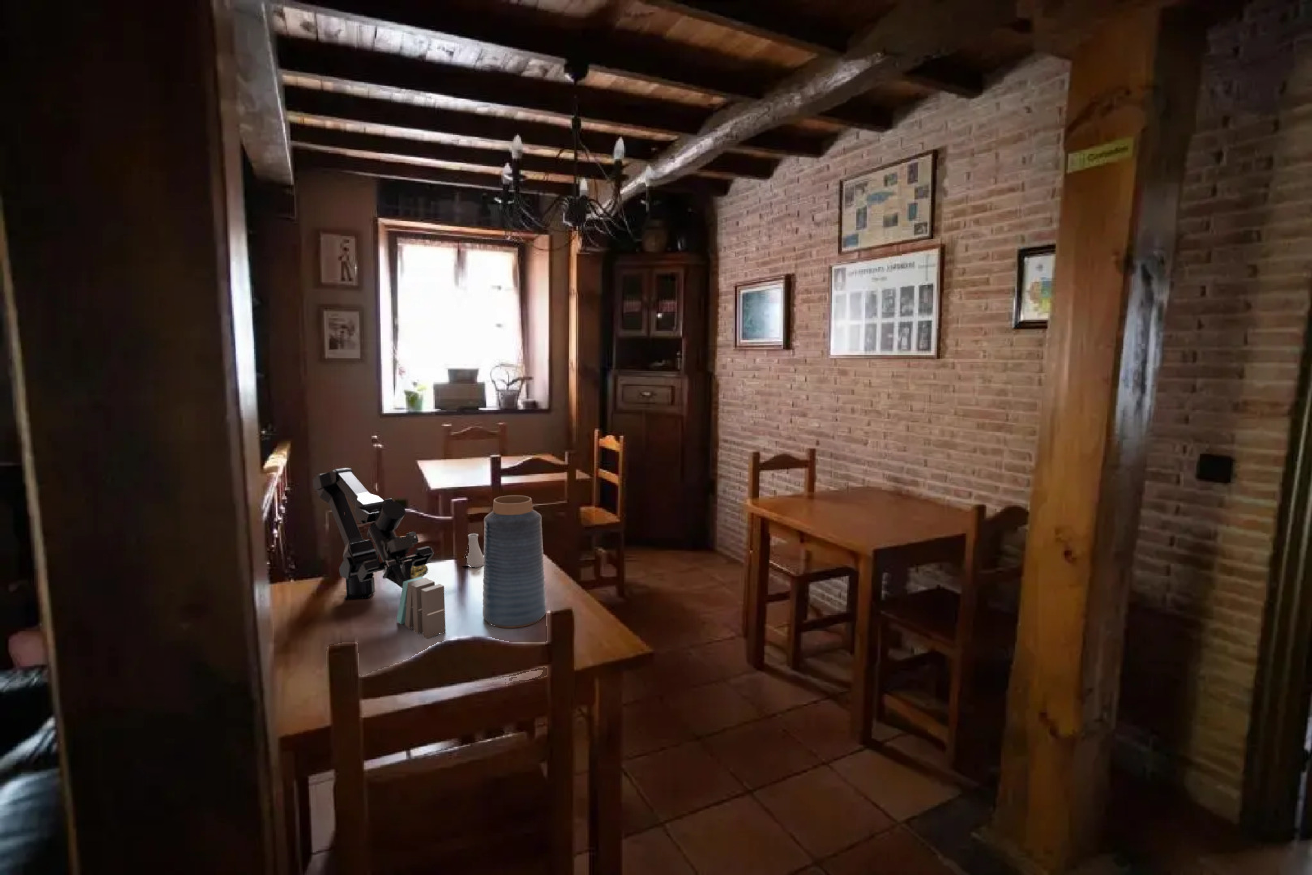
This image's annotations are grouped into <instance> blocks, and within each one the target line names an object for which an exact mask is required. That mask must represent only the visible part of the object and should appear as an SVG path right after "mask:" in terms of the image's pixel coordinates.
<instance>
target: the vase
mask: <svg viewBox="0 0 1312 875" xmlns="http://www.w3.org/2000/svg"><path fill="white" fill-rule="evenodd" d="M542 517H543V516H542V515H541V513H539V512H538V511H537V510H534V506H533V500H532V498H531V497H529V496H526V495H520V494H519V495H517V494H516V495H515V494H514V495H512V494H511V495H504V496H503V495H502V496H498V497H496V498H494V499H493V504H492V511H490V512H489V513H488V514H487V515H485V516H484V518H483V524H484V525H483V527H484V529H483V541H484V542H483V557H484V565H483V579H482V582H483V584H482V586H483V587H482V617H483V619H484V620H485V621H486V623H488V624H489V625H491V624H492V625H491V626H493V625H495V626H494V627H497V626H498V628H505V629H513V628H514V629H515V628H522V627H527V626H531V625H533V624H536V623H537V622H539V621H540V620H541V619H542V618H543V617H544V616H545V614H546V613H547V602H546V597H547V596H546V587H545V586H546V581H545V578H546V577H545V567H544V566H545V565H544V547H543V544H544V543H543V526H542V524H543V523H542V521H543V520H542Z"/></svg>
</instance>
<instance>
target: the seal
mask: <svg viewBox="0 0 1312 875" xmlns="http://www.w3.org/2000/svg"><path fill="white" fill-rule="evenodd" d="M428 571H429V568H428V565H427V564H426V565H423V566H419V567H415V566H412V568H411V579H414V578H418V577H421V576H422V577H423V576H425V575H426V574H427V572H428ZM424 574H425V575H424Z"/></svg>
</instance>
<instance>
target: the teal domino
mask: <svg viewBox="0 0 1312 875" xmlns="http://www.w3.org/2000/svg"><path fill="white" fill-rule="evenodd" d="M423 578H424V577H423V576H421V577H418V578H414V579H411V580H407V581H404V582H403V587H402V588H401V592H400V593H401V594H400V598H399V599H400V600H399V605H398V609H397V616H396V621H397V622H398V623H399V624H400V625H403V624H405V618H406V603H407V587H408V582H412V581H416V580H419V579H423Z"/></svg>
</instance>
